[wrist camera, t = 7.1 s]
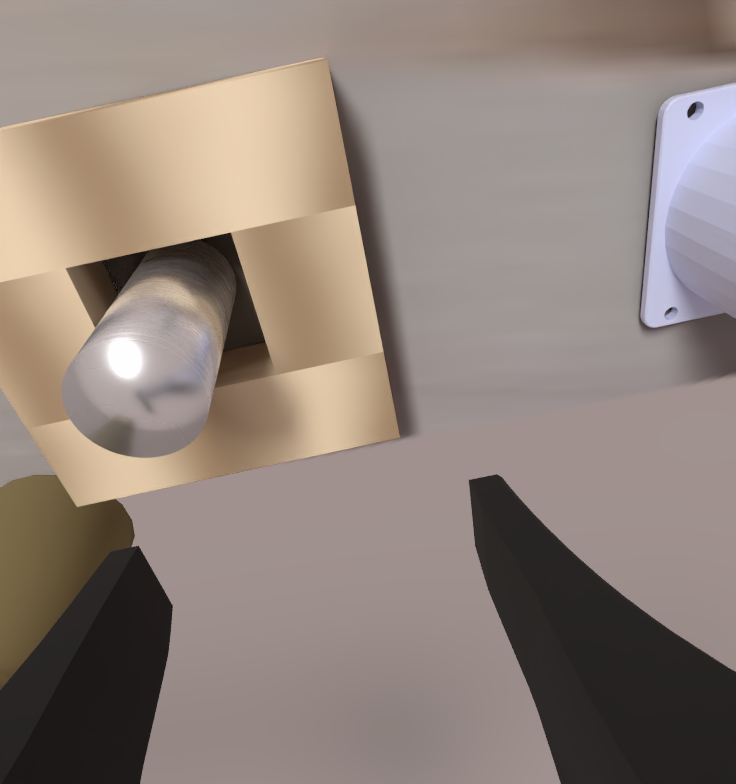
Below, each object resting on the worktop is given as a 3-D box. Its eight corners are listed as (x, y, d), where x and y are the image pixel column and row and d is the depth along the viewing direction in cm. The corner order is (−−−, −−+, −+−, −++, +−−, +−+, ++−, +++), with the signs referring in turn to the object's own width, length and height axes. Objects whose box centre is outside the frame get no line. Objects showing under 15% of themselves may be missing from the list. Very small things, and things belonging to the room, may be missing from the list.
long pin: (227, 233, 19) (192, 333, 12) (243, 322, 20) (220, 450, 14) (127, 241, 18) (39, 347, 12) (152, 330, 20) (87, 464, 14)
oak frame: (323, 56, 16) (327, 59, 14) (389, 398, 23) (399, 437, 20) (-85, 146, 16) (-144, 162, 14) (97, 461, 23) (76, 507, 21)
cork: (161, 549, 26) (86, 837, 16) (46, 592, 26) (-90, 894, 17) (77, 454, 22) (-77, 746, 13) (-52, 506, 23) (-284, 819, 14)
